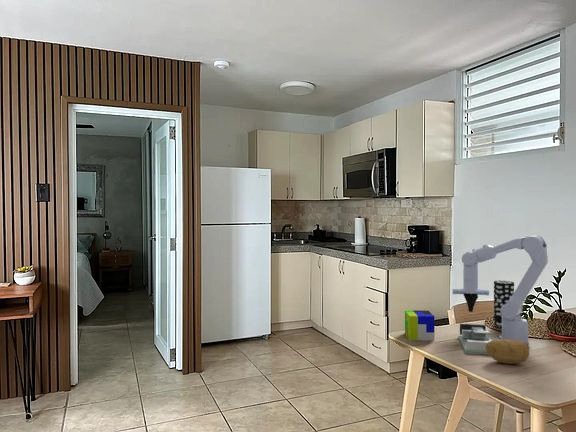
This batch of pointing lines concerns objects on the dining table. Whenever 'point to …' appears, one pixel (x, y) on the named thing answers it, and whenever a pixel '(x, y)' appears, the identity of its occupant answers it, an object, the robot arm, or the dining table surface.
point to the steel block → (478, 334)
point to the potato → (508, 351)
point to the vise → (474, 346)
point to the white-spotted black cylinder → (501, 298)
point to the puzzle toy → (419, 325)
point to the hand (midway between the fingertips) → (470, 311)
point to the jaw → (466, 330)
